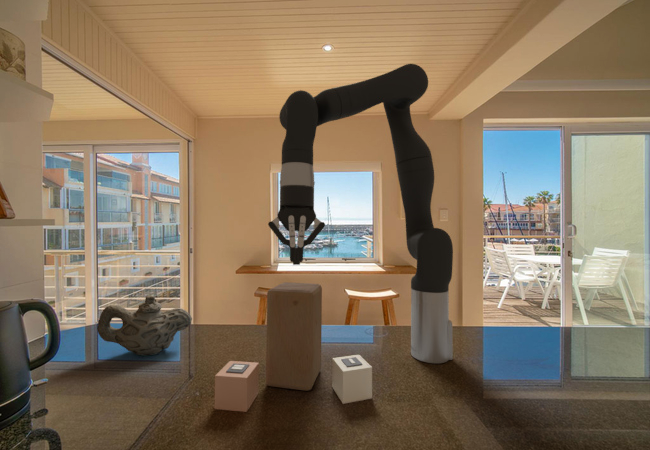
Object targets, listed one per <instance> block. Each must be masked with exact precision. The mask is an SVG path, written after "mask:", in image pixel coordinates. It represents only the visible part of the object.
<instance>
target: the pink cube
mask: <svg viewBox="0 0 650 450" xmlns="http://www.w3.org/2000/svg"><path fill="white" fill-rule="evenodd" d="M259 365H260V362H250V361H239V360H238V361H235V360H229V361H228V362H226V364H225V365H224V366H223V367H222V368H221V369H219V371H218V372H217V373H216V374H215V376H214V410H223V411H232V412H233V411H235V412H243V413H244V412H245V413H246V412H248V410H249V409H250V407H251V406H252V404H253V403H254V401H255V399H256V398H257V396H258V394H259V392H260V391H259V390H260V389H259V384H260V383H259V381H260V379H259V378H260V377H259V376H260V373H259V372H260V370H259V369H260V366H259Z"/></svg>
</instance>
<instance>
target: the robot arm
mask: <svg viewBox="0 0 650 450" xmlns="http://www.w3.org/2000/svg"><path fill="white" fill-rule="evenodd" d="M428 86H429V78H428V74H427V73H426V71H425V70H424V68H423V67H421V66H420V65H418V64H415V63H407V64H404V65H402V66H400V67H397V68H395V69H393V70H391V71H388V72H386V73H383V74H380V75H377V76H374V77H371V78H369V79H365V80H362V81H358V82H353V83H351V84H349V83H348V84H345V85H341V86H336V87H331V88H327V89H324V90H322V91H320V92H319V93H318V94H316V95H315V96H313V95H312V94H311V93H310V92H308V91H306V90H301V89H300V90H296V91H294V92H292V93H290V95H289V96H288V97H287V99H286V100H285V102H284V103H283V105H282V107H281V109H280V111H279V117H278V119H279V123H280V124H281V126H282V127H283V129H285V132H286V133H285V136H284V140H283V142H282V146H281V168H280V173H279V174H280V176H279V177H280V180H279V211H278V212H277V217H275V218H274V219H272V220H271V221H268V224H267V225H268V227H269V228H270V229H271V231H272V232H273V234H274V235H275V236H276V237H277V238H278V240H279V241H280V242H281V244H282V245H286V246H287V247H289V260H290V262H291V263H292V265H293V266H295V265H296V266H300V265H301V263H302V262H303V260H304V248H305V247H306V246H309V245H312V243H313V241H314V240H315V239H316V238H317V237H318V235H320V233H321V231H322V230H323V229H324V228H325V227H326V223H325V222H324V221H321V220H320V219H318V218H317V214H316V212H315V183H316V182H315V170H314V143H315V138H316V132H317V127H319V126H321V125H323V124H327V123H329V122H334V121H338V120H342V119H345V118H348V117H352V116H355V115H358V114H360V113H362V112H364V111H366V110H369V109H371V108H374V107H375V106H377V105H380V104H383V109H384V111H385V115H386V119H387V123H388V127H389V130H390V135H391V142H392V147H393V152H394V158H395V165H396V173H397V179H398V183H399V188H400V195H401V200H402V205H403V209H404V210H403V211H404V218H405V219H404V220H405V238H406V248H407V251H408V252H409V254H410V256H411V257H412V258H413V259H414V260H416V270H415V271H416V272H415V273H414V275H413V276H412V278H411V279H410V354H411V356H412V357H413V358H414V359H416V360H417V361H420V362H424V363H428V364H443V363H446V362H448V361H452V360H453V321H452V320H450V317H449V315H450V313H449V312H450V311H449V307H450V306H449V305H450V304H449V301H450V300H449V297H450V296H449V291H450V290H449V288H450V287H449V285H450V283H451V281H452V277H453V262H454V261H453V259H454V249H453V247H454V246H453V242H452V238H451V236H450V235H449V233H448V232H447V231H445V230H444V229H442V228H438V227H434V222H433V217H432V209H431V205H432V196H433V191H434V184H435V170H434V169H435V168H434V164H433V163H434V162H433V156H432V153H431V149H430V147H429V146H428V144H427V143H426V141H425V140H424V139H423V138H422V136H421V135H420V134H419V133H418V132H417V131H416V129H415V127H414V125H413V124H414V123H413V120H412V116H411V114H412V113H411V105H413V104H414V103H416V102H417V101H418V100H420V99H421V98H422V97H423V96H424V95H425V94H426V92H427V90H428V88H429V87H428ZM280 223H281V225H282V226H283V228H284V229H285V230H286V231H288V236H289V239H287V238H286V236H285V235H284V234H283V233H282V232H281V230H280V226H281V225H280ZM312 224H313V225H312ZM311 225H312V227H313V230H312V232H310V234H309V235H308V237H307V238H306V239H305V232H306V231H307V230H308V229H309V228H310V227H311ZM296 232H297V244H296Z"/></svg>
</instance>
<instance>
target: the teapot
mask: <svg viewBox="0 0 650 450" xmlns="http://www.w3.org/2000/svg"><path fill="white" fill-rule="evenodd" d="M155 297H156V296H155V295H154V296H153V295H146V296H145V299H144V302H142V303H140V304H139V305H138V308H137V309H136V312H132V311H130V310H128V309H127V308H124V307H122V306H121V305H108V306H106V307H105V308H104V309H102V311H101V313H100V315H99V317H98V321H97V326H96V327H97V328H96V330H97V333H98V335H99V337H100V338H101V339H102V340H103V341H104V342H108V343H114V344H118V345H119V346H121V347H123V348H124V349H126V350H127V352H131V353H132V354H135V355H137V356H154V355H158V354H159V353H160V352H161V351H162V350H166V349H168V348H169V347H170V346H171V343H172V342H173V341H174V340H175V339H174V337H175V335H176V334H177V333H178V332H180V331H183V330H186V329H187V328H188V327H189V326H191V325H192V320H193V317H192V315H191V314H190V312H188V311H187V310H186V309H184V308H181V307H180V308H178V307H176V308H172V309H168V310H166V311H162V310H161V309H162V304H161V303H160V302H158V301H156V300H155ZM114 318H118V319H120V320H121V321H122V326H121V327H119V328H116V327H113V326H112V325H111V321H112V319H114Z"/></svg>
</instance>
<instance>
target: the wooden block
mask: <svg viewBox="0 0 650 450" xmlns="http://www.w3.org/2000/svg"><path fill="white" fill-rule="evenodd" d="M266 296H267V297H266V351H265V353H266V355H265V357H266V358H265V359H266V360H265V362H266V363H265V364H266V366H265V367H266V368H265V383H266V386H269V387H274V388H283V389H291V390H300V391H307V392H308V391H311V390H312V389H313V386H314V385H315V381H316V380H317V377H318V376H319V374H320V371H321V369H322V327H323V325H322V314H323V313H322V309H323V305H322V304H323V301H322V299H323V298H322V297H323V288H322V285H321V284H320V283H308V282H307V283H306V282H285V281H284V282H282V283H280V284H278V285H276V286H274V287H272V288H270V289H268V290H267V293H266Z"/></svg>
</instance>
